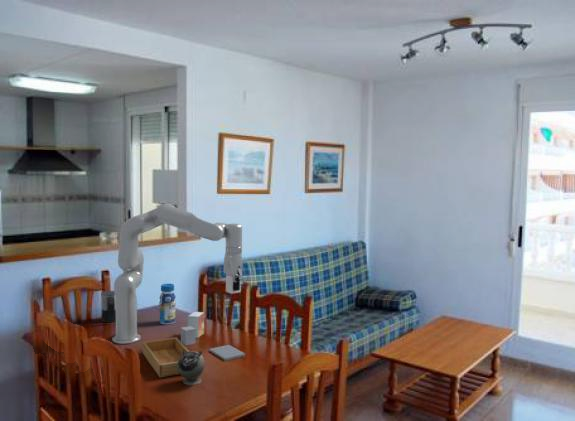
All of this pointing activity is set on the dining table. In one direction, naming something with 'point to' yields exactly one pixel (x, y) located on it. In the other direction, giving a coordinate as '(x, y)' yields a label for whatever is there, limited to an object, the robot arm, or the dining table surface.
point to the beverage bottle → (167, 304)
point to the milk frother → (108, 306)
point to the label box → (231, 284)
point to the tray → (164, 355)
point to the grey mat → (227, 352)
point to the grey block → (188, 335)
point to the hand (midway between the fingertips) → (233, 288)
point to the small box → (197, 322)
